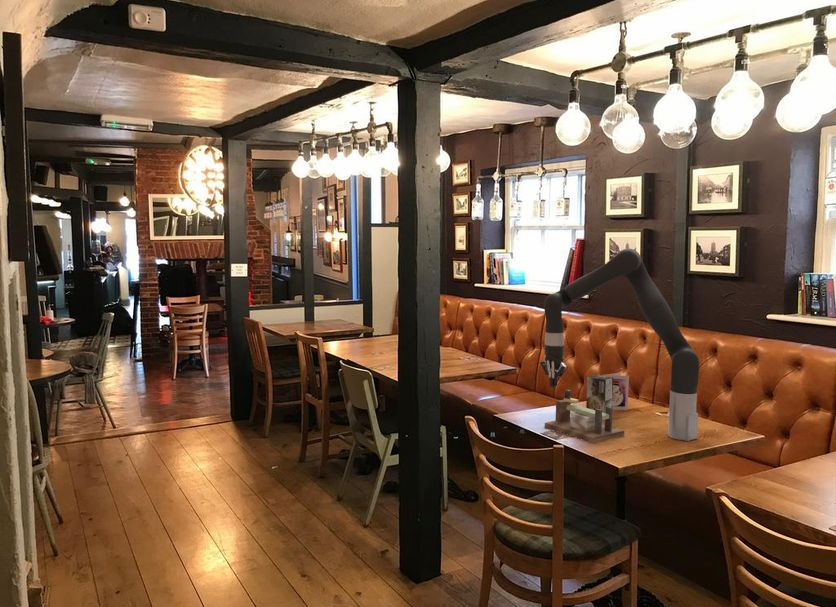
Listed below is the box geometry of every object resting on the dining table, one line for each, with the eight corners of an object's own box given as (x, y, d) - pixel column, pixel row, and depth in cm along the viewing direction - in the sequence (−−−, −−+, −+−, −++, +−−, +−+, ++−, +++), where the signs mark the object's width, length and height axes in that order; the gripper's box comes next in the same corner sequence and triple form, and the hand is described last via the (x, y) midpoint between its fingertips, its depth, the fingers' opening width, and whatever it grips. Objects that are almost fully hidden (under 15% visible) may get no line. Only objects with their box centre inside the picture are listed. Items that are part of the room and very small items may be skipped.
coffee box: (612, 415, 276) (614, 377, 275) (604, 418, 272) (606, 379, 270) (593, 411, 283) (595, 374, 281) (585, 413, 279) (586, 376, 277)
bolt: (578, 402, 255) (578, 392, 255) (574, 403, 254) (574, 392, 253) (567, 399, 260) (567, 389, 259) (562, 400, 258) (563, 390, 258)
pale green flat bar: (609, 418, 245) (609, 414, 245) (602, 420, 242) (602, 416, 242) (573, 408, 258) (573, 404, 258) (566, 409, 256) (566, 405, 256)
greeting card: (601, 409, 285) (602, 375, 284) (597, 405, 293) (598, 372, 291) (628, 410, 285) (629, 376, 283) (623, 406, 292) (625, 372, 291)
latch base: (624, 435, 248) (625, 406, 247) (594, 443, 238) (595, 413, 237) (574, 421, 267) (575, 394, 266) (544, 427, 257) (545, 399, 256)
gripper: (535, 342, 265) (534, 385, 267) (560, 346, 255) (559, 391, 256) (548, 340, 270) (547, 382, 271) (573, 345, 259) (572, 388, 261)
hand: (553, 386), depth 264 cm, fingers closed
